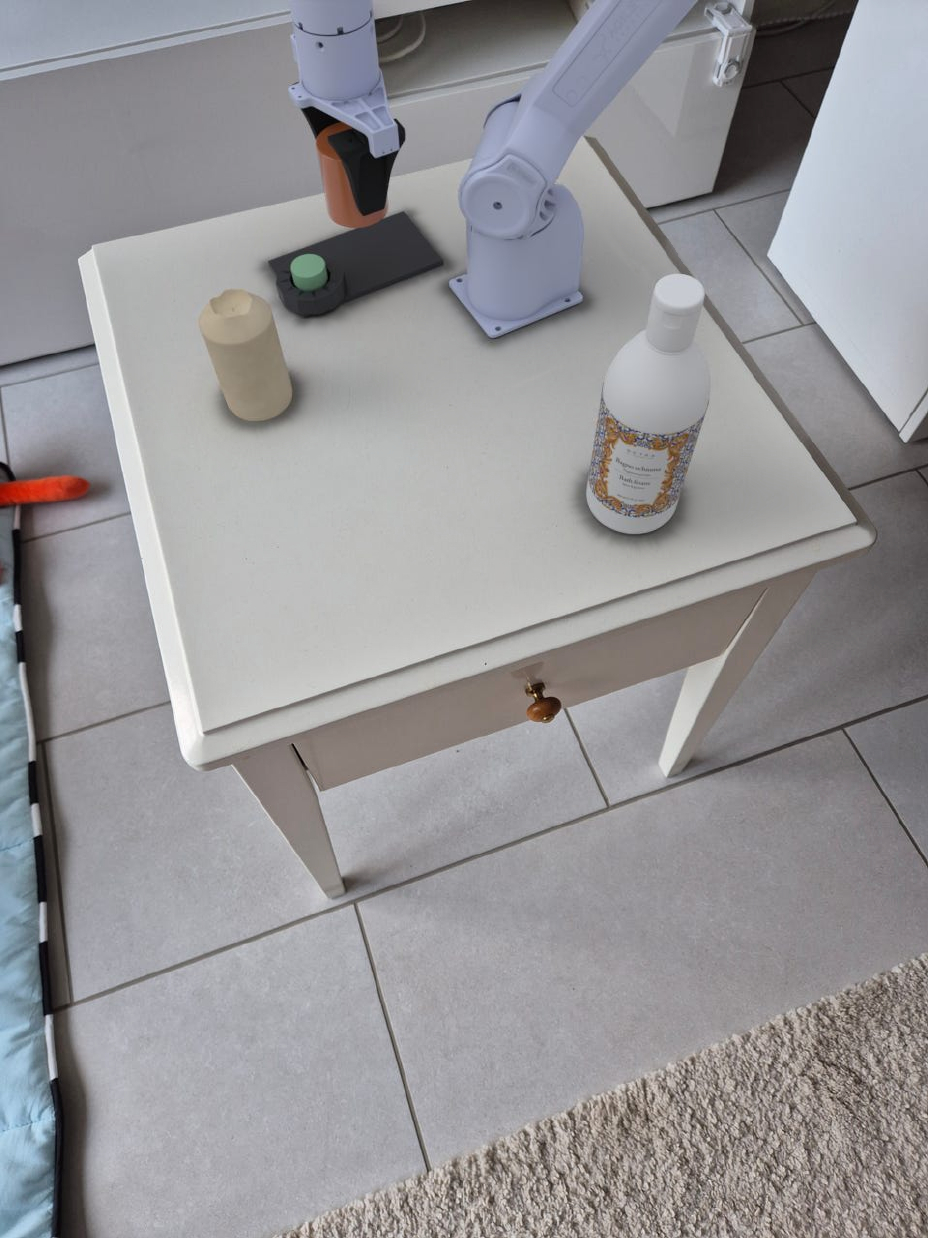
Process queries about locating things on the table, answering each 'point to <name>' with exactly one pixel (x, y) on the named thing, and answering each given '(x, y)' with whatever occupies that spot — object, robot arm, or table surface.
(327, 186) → the orange cylinder
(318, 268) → the button
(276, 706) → the table surface
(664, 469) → the bath foam
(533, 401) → the table surface
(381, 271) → the scale
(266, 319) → the candle
